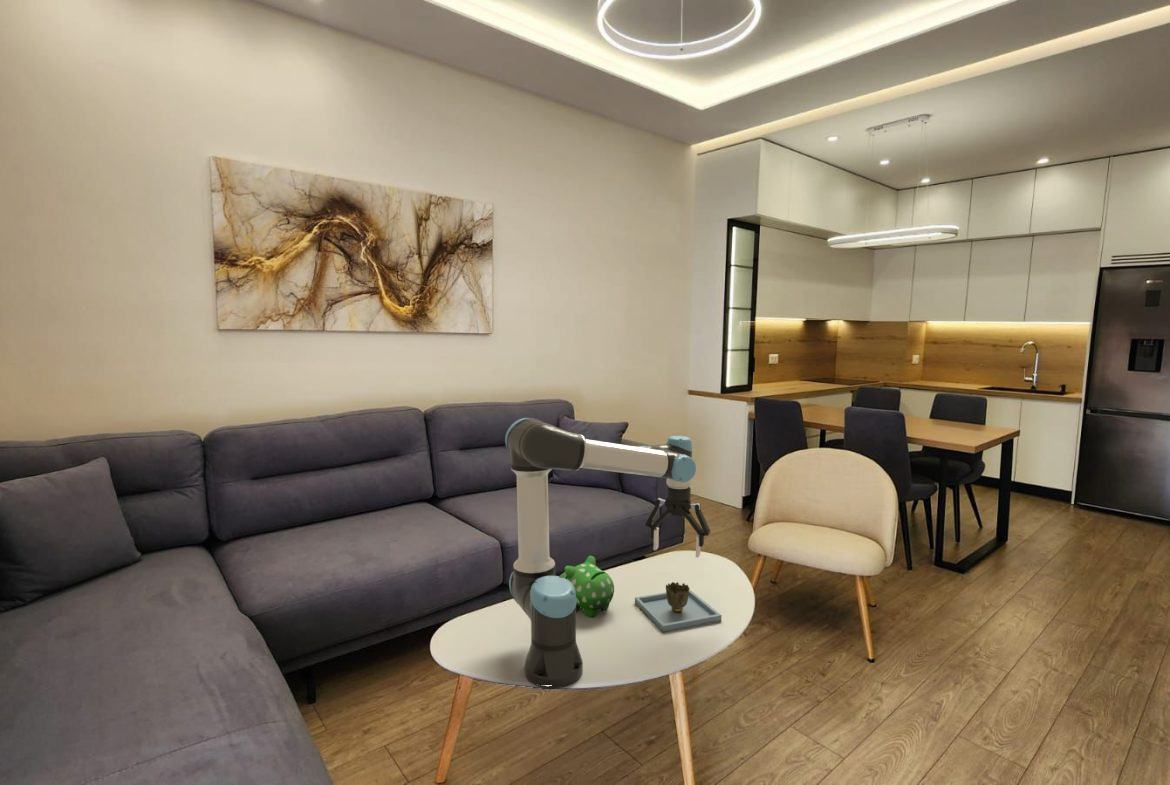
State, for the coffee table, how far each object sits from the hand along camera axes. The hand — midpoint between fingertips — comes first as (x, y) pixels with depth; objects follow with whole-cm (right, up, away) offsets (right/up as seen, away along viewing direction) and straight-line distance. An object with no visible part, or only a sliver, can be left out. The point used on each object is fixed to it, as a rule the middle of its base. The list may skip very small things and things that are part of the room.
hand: (676, 552), depth 181 cm
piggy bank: (-28, -20, +5) cm, 35 cm away
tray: (0, -20, +2) cm, 20 cm away
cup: (0, -19, +2) cm, 19 cm away
